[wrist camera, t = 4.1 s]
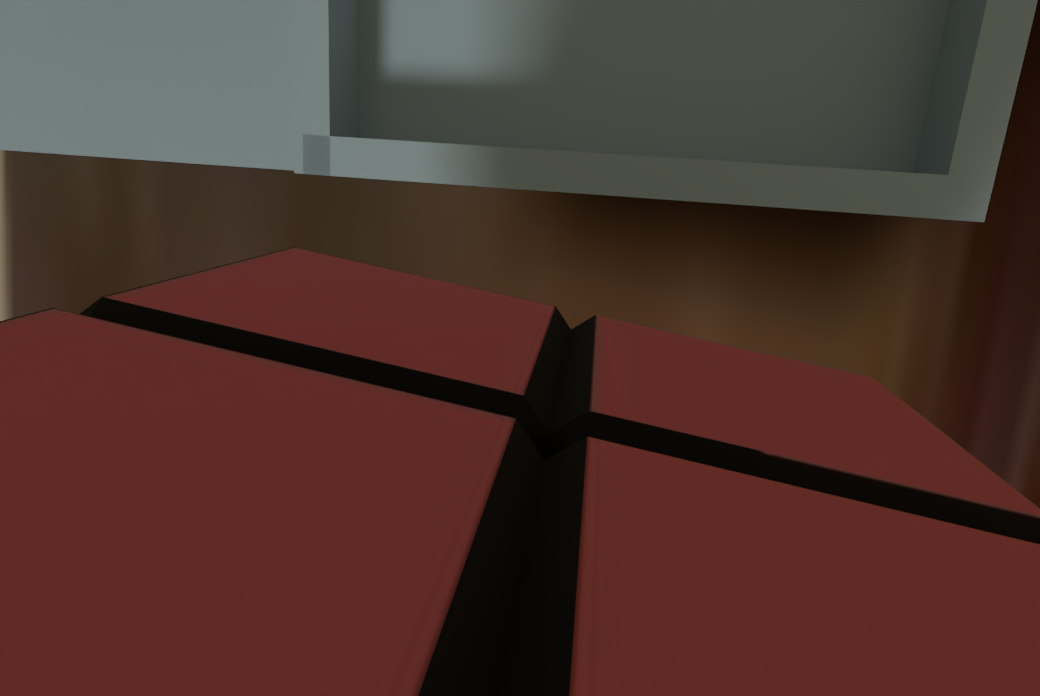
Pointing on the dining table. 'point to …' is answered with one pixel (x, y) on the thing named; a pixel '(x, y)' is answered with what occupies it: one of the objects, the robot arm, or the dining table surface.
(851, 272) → the dining table surface
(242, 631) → the puzzle cube
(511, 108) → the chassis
